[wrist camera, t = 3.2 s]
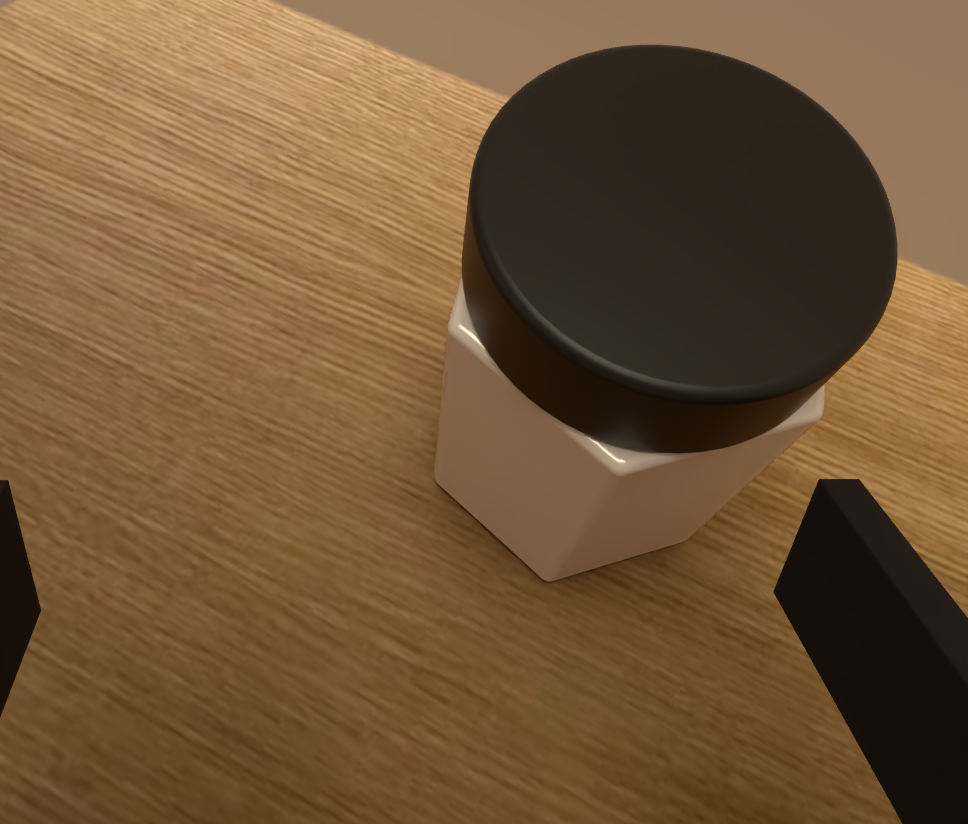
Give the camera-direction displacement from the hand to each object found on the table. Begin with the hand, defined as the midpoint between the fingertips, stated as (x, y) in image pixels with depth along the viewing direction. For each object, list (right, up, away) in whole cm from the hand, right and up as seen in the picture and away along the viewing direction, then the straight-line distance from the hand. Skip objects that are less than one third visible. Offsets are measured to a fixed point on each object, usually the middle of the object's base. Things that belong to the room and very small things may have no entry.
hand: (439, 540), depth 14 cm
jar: (+3, +1, +13) cm, 13 cm away
